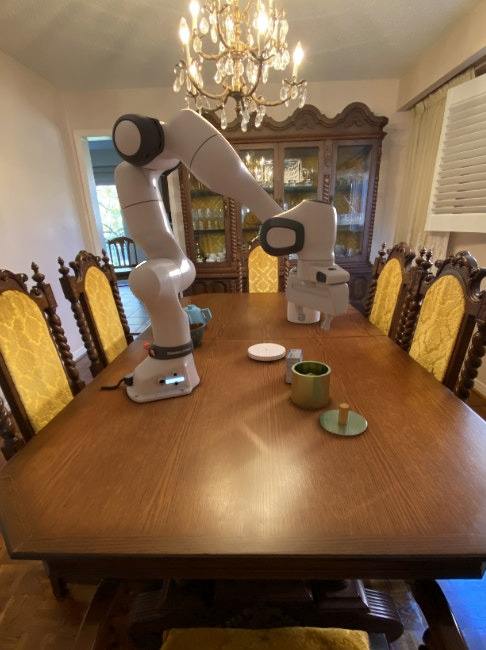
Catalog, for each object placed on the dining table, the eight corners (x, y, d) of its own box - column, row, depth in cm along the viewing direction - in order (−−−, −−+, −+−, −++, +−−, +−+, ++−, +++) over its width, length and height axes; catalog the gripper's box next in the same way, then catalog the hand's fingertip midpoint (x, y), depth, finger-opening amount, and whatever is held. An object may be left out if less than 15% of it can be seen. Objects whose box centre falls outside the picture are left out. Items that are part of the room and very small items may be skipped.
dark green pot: (157, 344, 145) (154, 320, 142) (205, 340, 148) (203, 317, 144) (154, 355, 133) (150, 330, 130) (206, 351, 136) (204, 326, 132)
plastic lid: (265, 366, 121) (265, 359, 120) (240, 355, 131) (240, 349, 130) (293, 355, 129) (293, 349, 128) (267, 346, 139) (267, 340, 138)
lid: (342, 444, 79) (344, 423, 77) (310, 421, 88) (310, 402, 86) (376, 429, 84) (379, 409, 82) (343, 408, 94) (344, 390, 92)
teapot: (187, 334, 156) (185, 311, 152) (169, 327, 166) (167, 305, 162) (214, 326, 166) (212, 304, 162) (195, 320, 176) (193, 300, 172)
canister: (286, 323, 168) (286, 281, 161) (288, 314, 183) (289, 276, 176) (319, 323, 166) (321, 282, 159) (319, 314, 181) (321, 276, 173)
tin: (307, 414, 92) (308, 380, 88) (284, 398, 100) (284, 366, 96) (336, 403, 96) (338, 370, 93) (312, 388, 105) (313, 358, 101)
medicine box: (300, 384, 108) (300, 358, 105) (285, 383, 109) (286, 357, 105) (301, 373, 115) (302, 349, 112) (288, 372, 116) (288, 348, 113)
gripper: (280, 267, 92) (279, 317, 97) (334, 277, 75) (330, 337, 80) (299, 265, 95) (297, 314, 100) (355, 275, 78) (350, 333, 83)
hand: (312, 324), depth 90 cm, fingers open, 8 cm apart
